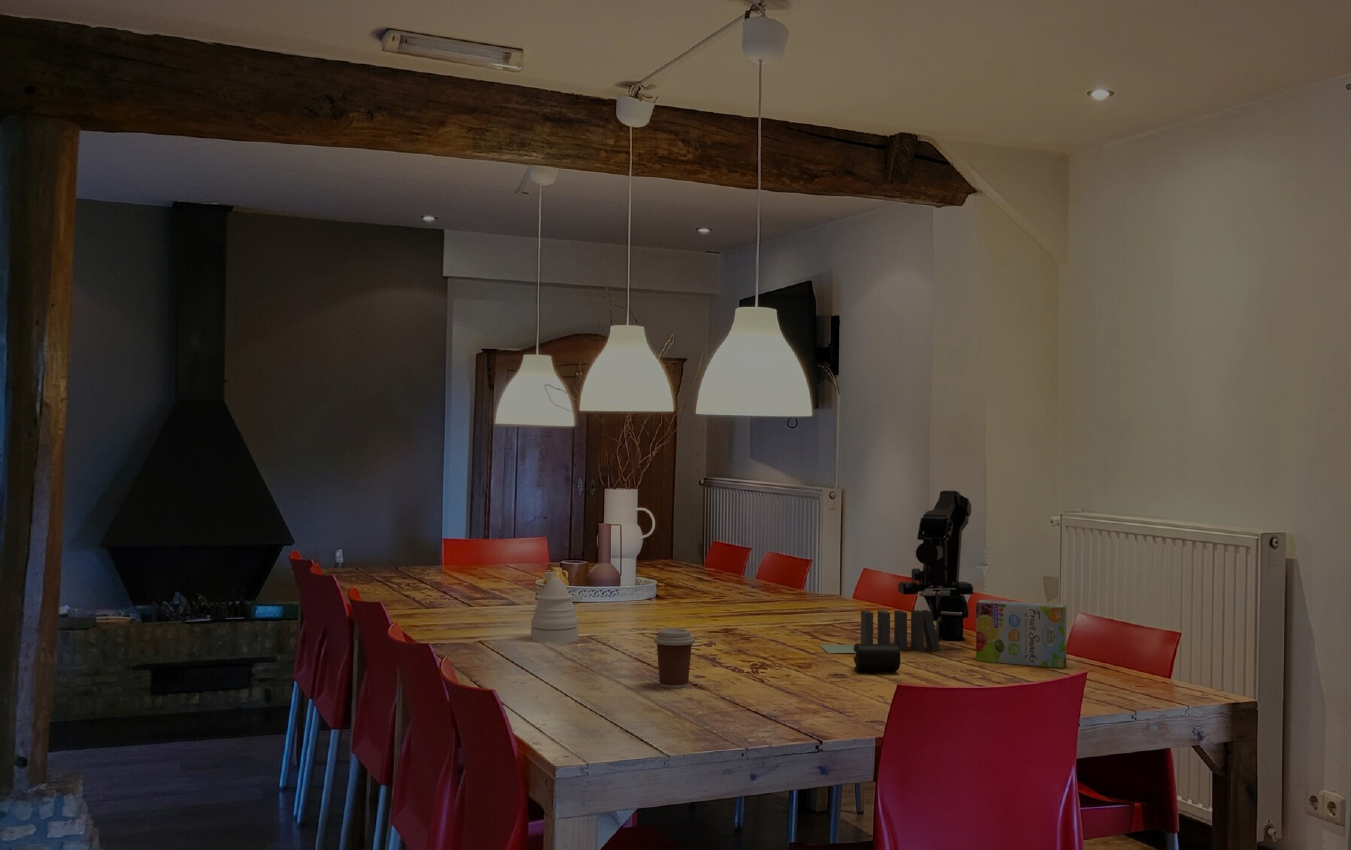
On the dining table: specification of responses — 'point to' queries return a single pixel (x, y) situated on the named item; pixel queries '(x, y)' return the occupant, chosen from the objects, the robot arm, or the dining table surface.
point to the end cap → (877, 658)
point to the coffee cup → (674, 657)
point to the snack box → (1021, 633)
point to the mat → (838, 648)
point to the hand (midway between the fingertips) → (935, 620)
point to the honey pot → (554, 614)
